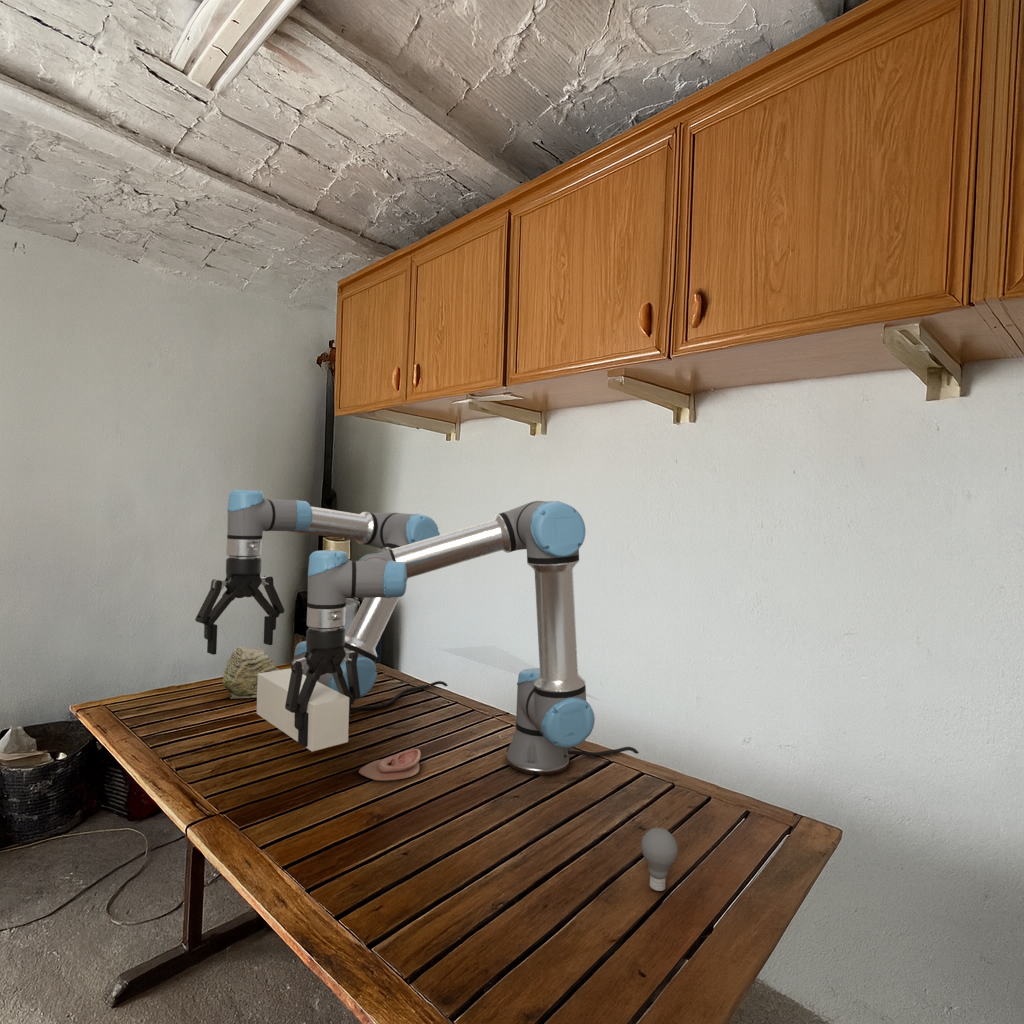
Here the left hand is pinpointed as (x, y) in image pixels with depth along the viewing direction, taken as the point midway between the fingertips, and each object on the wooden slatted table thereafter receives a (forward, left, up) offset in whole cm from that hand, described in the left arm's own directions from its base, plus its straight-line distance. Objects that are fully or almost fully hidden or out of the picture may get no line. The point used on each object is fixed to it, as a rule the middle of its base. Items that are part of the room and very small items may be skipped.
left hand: (240, 648), depth 146 cm
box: (-3, +21, -14) cm, 25 cm away
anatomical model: (-23, +27, -27) cm, 45 cm away
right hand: (-1, +31, -13) cm, 34 cm away
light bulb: (-24, +94, -27) cm, 101 cm away
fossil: (-29, -45, -27) cm, 60 cm away
